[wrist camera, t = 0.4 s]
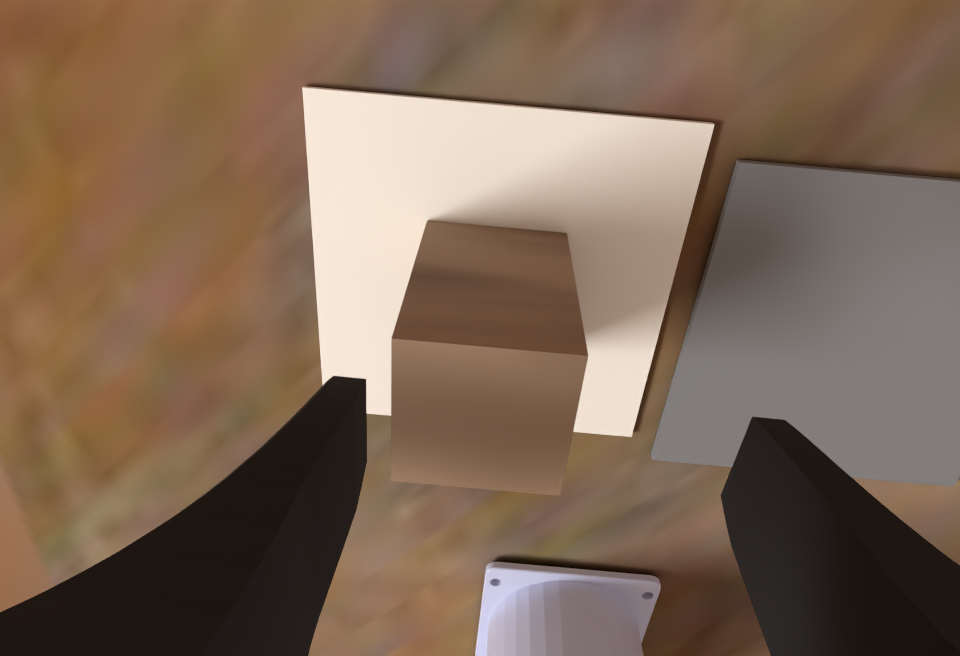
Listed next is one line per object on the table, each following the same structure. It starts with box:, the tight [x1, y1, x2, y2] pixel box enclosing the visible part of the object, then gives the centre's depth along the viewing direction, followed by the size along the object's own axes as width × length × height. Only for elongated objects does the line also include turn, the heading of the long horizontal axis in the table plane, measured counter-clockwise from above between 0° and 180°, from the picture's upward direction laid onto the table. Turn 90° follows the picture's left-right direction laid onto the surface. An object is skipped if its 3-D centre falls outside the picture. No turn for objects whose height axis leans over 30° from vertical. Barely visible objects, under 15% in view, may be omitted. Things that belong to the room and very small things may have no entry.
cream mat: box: [303, 86, 715, 437], centre depth 22 cm, size 12×12×1 cm
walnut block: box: [391, 220, 588, 496], centre depth 19 cm, size 4×4×7 cm
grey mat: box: [651, 159, 960, 487], centre depth 22 cm, size 12×12×1 cm
